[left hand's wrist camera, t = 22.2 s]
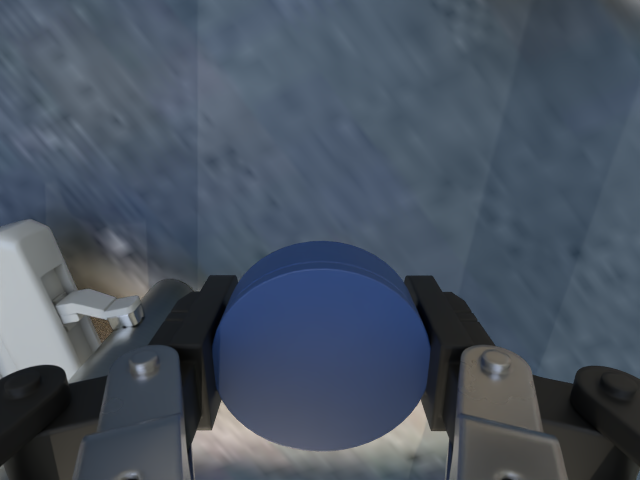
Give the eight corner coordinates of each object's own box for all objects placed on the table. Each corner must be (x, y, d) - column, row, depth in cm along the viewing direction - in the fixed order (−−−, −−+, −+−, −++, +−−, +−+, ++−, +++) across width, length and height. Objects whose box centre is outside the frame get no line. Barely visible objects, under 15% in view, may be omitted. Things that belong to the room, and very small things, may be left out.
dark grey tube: (145, 314, 35) (-41, 541, 17) (153, 273, 34) (-41, 474, 16) (192, 327, 36) (56, 562, 18) (201, 287, 34) (65, 499, 16)
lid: (455, 315, 11) (478, 355, 9) (333, 430, 12) (335, 481, 10) (305, 199, 9) (303, 221, 8) (190, 339, 11) (168, 382, 9)
